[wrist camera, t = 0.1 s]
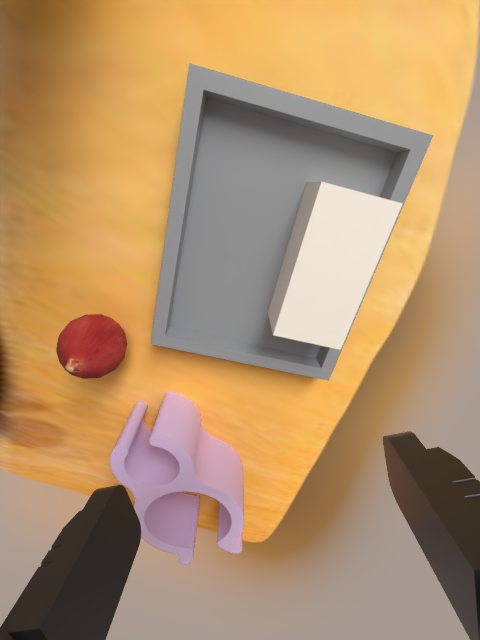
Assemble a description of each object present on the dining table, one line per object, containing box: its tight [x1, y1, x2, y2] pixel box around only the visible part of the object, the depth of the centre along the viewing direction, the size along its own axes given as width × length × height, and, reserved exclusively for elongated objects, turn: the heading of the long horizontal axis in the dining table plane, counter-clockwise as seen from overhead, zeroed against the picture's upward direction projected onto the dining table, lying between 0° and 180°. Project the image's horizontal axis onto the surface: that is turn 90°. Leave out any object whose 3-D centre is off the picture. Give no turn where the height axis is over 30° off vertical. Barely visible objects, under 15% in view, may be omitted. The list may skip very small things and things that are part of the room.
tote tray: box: [151, 63, 433, 381], centre depth 27 cm, size 22×18×3 cm
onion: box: [57, 315, 127, 379], centre depth 28 cm, size 6×6×8 cm
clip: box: [110, 392, 244, 565], centre depth 36 cm, size 20×12×7 cm, turn 20°
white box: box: [268, 182, 403, 350], centre depth 26 cm, size 12×6×5 cm, turn 167°
